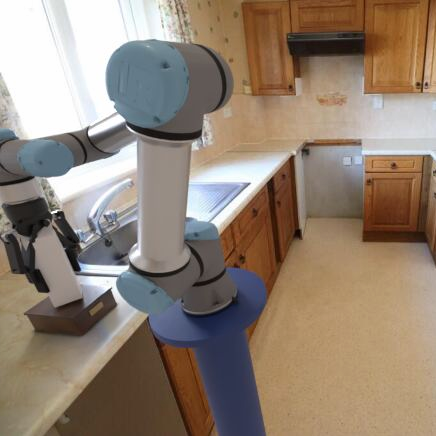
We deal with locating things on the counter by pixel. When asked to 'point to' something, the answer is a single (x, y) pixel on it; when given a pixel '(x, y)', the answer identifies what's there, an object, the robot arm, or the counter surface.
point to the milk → (55, 267)
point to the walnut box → (73, 311)
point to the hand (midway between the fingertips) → (61, 280)
